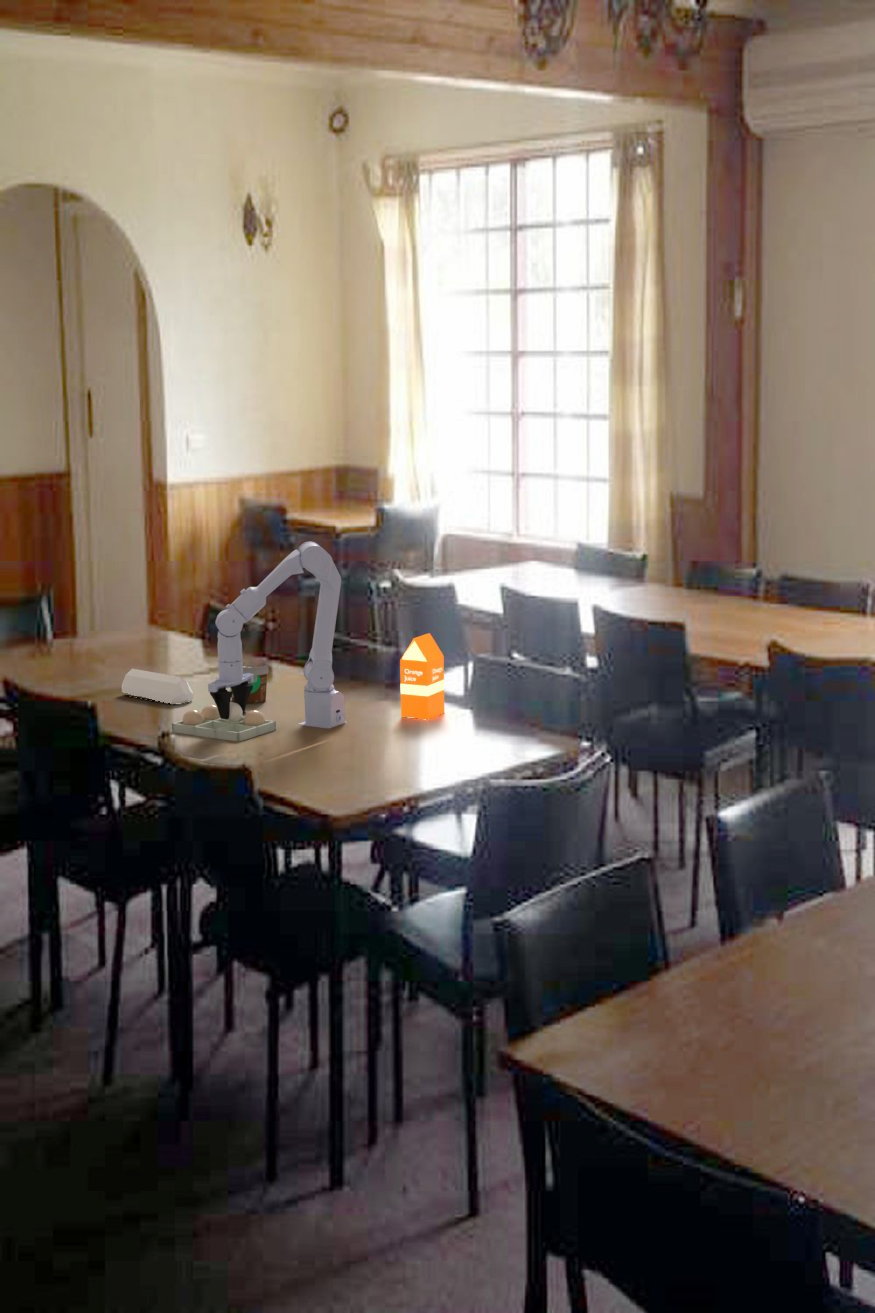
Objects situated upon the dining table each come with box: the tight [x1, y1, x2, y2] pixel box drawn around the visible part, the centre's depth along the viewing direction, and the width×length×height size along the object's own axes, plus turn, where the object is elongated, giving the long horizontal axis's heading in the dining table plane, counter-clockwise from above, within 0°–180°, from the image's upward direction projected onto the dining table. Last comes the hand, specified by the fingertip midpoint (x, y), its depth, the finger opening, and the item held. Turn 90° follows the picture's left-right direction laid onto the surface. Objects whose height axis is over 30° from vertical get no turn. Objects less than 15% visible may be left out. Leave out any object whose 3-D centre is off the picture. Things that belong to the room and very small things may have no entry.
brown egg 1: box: [182, 709, 204, 726], centre depth 391 cm, size 5×5×5 cm
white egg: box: [224, 701, 244, 723], centre depth 393 cm, size 5×5×5 cm
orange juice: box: [399, 632, 445, 721], centre depth 405 cm, size 8×9×20 cm
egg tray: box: [171, 716, 277, 743], centre depth 391 cm, size 20×14×3 cm
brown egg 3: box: [243, 709, 266, 727], centre depth 390 cm, size 5×5×5 cm
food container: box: [229, 665, 270, 705], centre depth 422 cm, size 12×6×10 cm, turn 62°
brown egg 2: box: [201, 703, 220, 720], centre depth 397 cm, size 5×5×5 cm
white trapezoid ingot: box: [121, 668, 194, 705], centre depth 431 cm, size 7×7×24 cm
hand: (232, 716), depth 393 cm, fingers open, 5 cm apart
